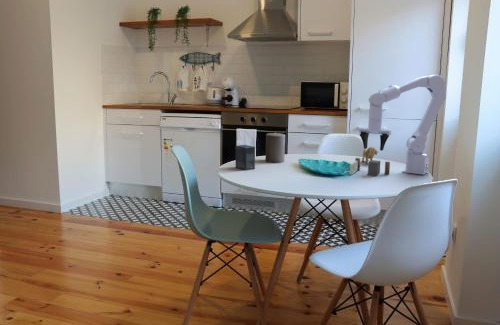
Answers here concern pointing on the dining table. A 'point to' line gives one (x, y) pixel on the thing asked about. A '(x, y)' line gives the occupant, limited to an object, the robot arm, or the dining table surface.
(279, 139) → the pillar candle
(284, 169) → the dining table surface
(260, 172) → the dining table surface
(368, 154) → the lion figurine
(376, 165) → the block
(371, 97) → the robot arm
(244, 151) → the box
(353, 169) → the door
